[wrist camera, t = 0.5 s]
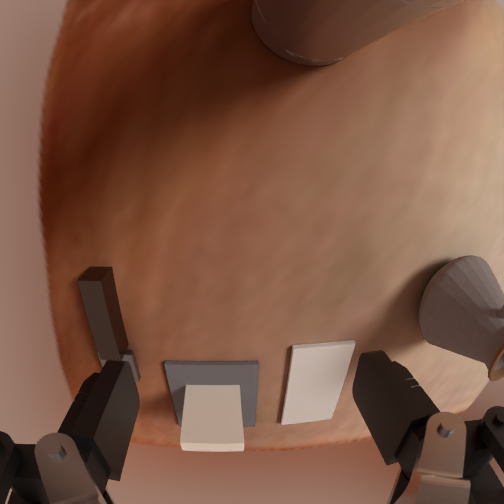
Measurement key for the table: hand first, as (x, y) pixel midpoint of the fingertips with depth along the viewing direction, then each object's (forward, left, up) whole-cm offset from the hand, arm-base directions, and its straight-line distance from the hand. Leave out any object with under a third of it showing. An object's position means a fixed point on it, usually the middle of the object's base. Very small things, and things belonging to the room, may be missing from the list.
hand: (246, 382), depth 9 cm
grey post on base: (+9, -13, -17) cm, 23 cm away
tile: (+18, -3, -16) cm, 25 cm away
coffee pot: (+2, +23, -17) cm, 29 cm away
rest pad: (+19, +9, -17) cm, 27 cm away
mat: (+20, -3, -17) cm, 27 cm away
